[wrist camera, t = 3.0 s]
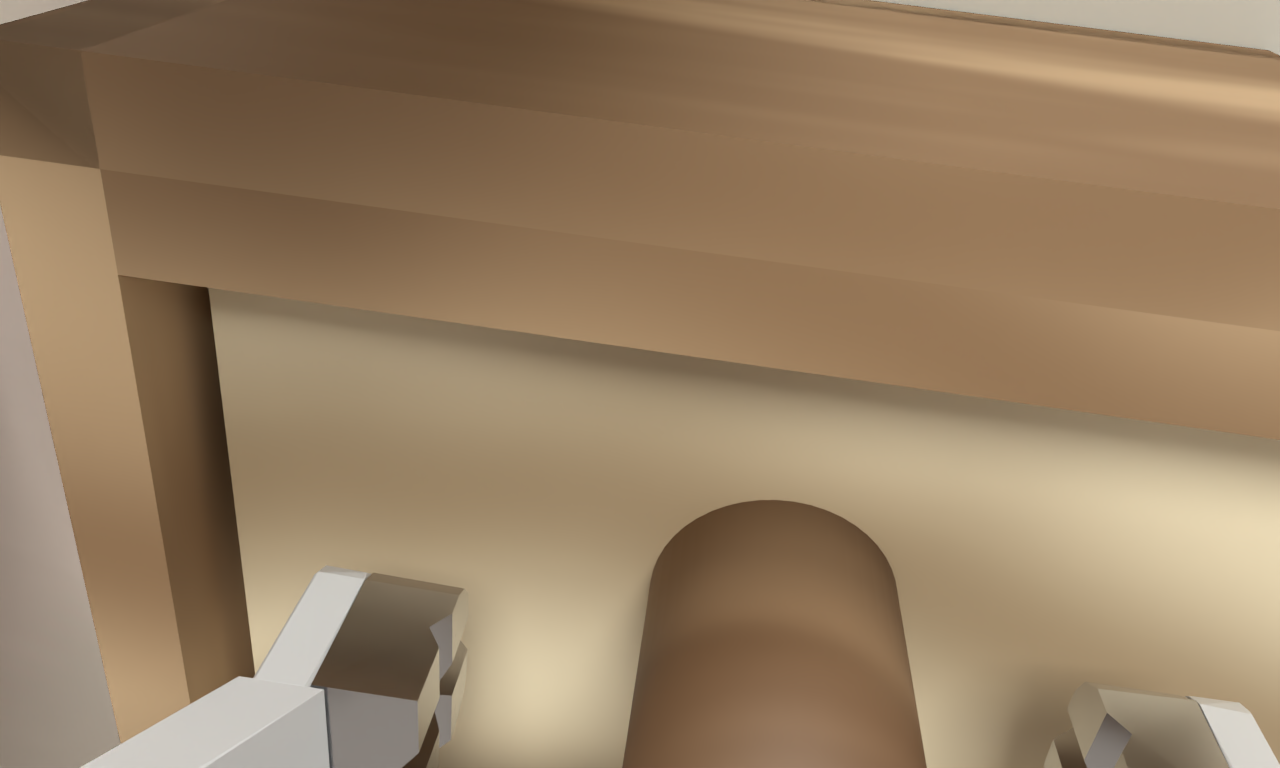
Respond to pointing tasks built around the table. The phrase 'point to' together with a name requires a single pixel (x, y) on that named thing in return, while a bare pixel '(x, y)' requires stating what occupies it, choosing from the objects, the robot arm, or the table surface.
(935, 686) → the lid
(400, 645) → the robot arm
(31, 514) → the table surface
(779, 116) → the lid box
